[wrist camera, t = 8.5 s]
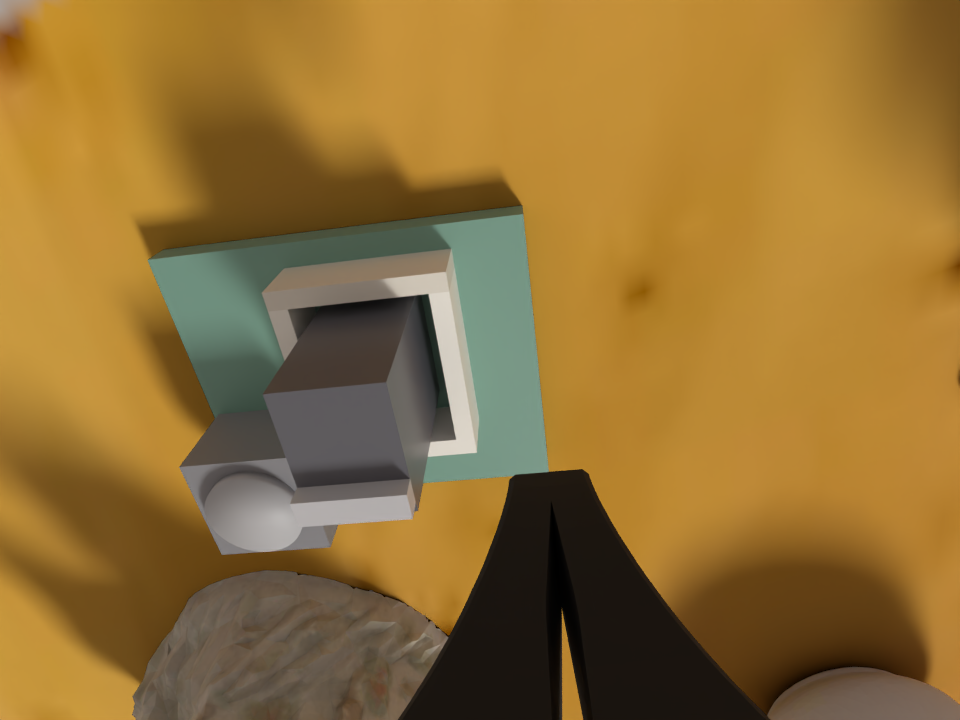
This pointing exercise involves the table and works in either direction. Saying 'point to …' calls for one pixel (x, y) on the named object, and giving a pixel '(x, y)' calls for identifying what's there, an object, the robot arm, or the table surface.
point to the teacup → (863, 698)
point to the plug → (357, 412)
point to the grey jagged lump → (288, 653)
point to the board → (344, 279)
